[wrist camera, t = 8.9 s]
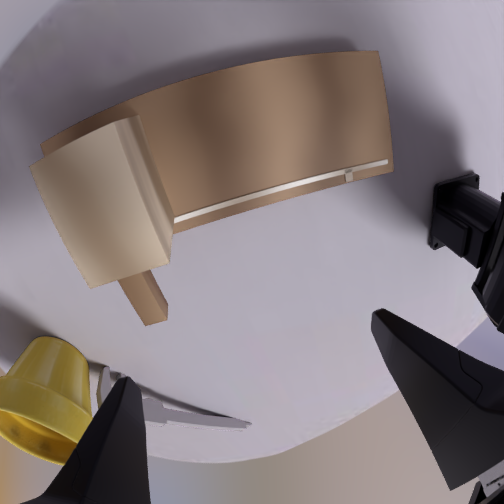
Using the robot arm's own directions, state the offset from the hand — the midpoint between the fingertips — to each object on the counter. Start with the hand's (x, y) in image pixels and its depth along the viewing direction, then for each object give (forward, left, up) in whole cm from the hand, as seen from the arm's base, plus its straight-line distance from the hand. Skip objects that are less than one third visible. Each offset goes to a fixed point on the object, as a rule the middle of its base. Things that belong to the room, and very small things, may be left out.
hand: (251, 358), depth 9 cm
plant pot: (+19, +8, -11) cm, 24 cm away
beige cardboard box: (+4, -4, -9) cm, 11 cm away
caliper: (+10, +19, -12) cm, 24 cm away
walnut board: (-2, -5, -11) cm, 12 cm away
